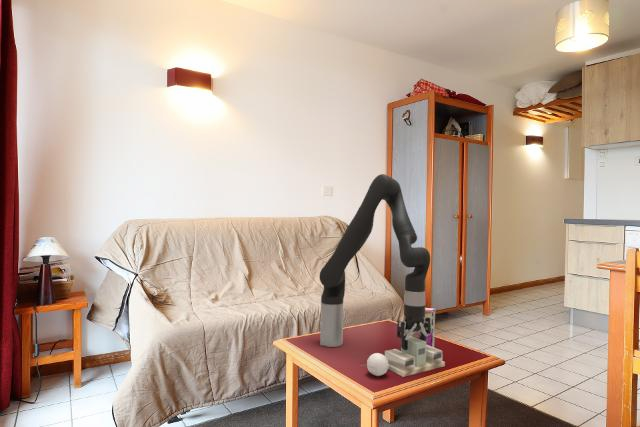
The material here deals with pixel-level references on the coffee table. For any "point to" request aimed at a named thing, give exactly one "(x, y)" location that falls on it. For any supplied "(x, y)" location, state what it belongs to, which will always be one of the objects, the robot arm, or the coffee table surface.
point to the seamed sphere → (377, 364)
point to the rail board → (413, 361)
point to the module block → (416, 350)
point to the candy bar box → (430, 337)
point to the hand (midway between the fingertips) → (413, 347)
